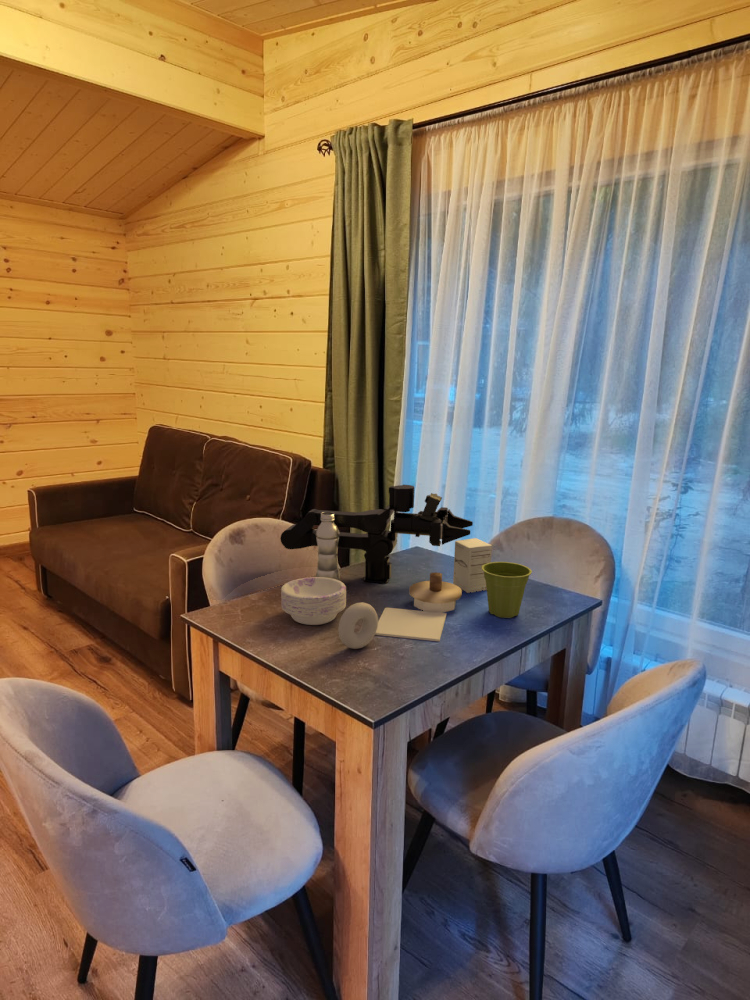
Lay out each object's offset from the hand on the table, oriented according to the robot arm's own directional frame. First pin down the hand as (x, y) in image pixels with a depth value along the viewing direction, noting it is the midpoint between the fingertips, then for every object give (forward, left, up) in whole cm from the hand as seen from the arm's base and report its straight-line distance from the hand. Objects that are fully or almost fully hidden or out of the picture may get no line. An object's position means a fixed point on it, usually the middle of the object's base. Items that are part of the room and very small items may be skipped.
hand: (471, 527), depth 169 cm
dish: (-7, -15, -16) cm, 24 cm away
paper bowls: (-34, -30, -17) cm, 49 cm away
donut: (-20, -43, -17) cm, 50 cm away
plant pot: (+10, -16, -17) cm, 25 cm away
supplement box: (+1, 0, -17) cm, 17 cm away
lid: (-7, -15, -13) cm, 22 cm away
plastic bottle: (-37, -8, -17) cm, 42 cm away
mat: (-11, -28, -17) cm, 35 cm away
